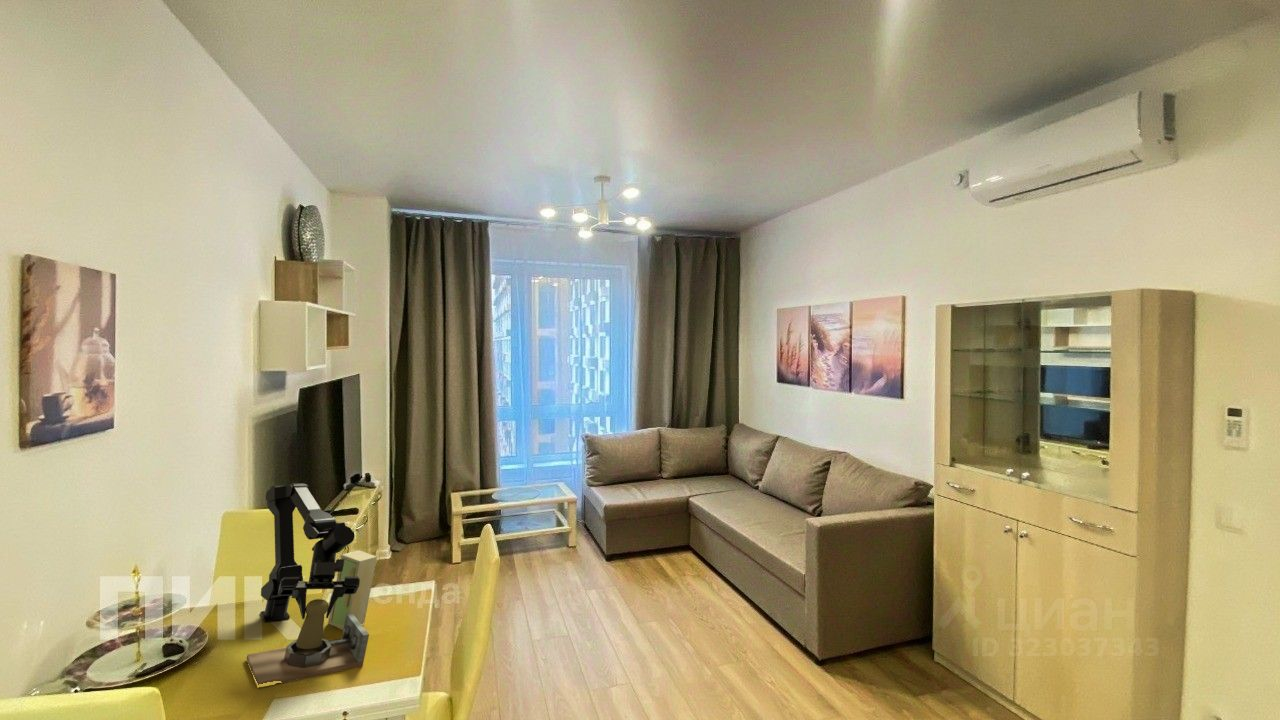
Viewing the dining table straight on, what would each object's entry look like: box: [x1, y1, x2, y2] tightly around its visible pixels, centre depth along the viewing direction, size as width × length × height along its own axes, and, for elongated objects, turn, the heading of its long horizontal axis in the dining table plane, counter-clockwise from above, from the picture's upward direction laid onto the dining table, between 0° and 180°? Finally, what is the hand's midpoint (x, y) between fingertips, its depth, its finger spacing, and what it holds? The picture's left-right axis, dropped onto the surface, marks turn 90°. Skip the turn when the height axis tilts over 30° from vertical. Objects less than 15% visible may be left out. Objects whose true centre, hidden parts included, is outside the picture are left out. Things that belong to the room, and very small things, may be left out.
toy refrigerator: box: [327, 549, 378, 631], centre depth 170 cm, size 8×7×21 cm
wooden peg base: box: [245, 613, 370, 685], centre depth 146 cm, size 14×24×8 cm, turn 134°
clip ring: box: [284, 626, 358, 668], centre depth 148 cm, size 10×16×5 cm, turn 134°
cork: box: [296, 598, 329, 649], centre depth 147 cm, size 6×6×11 cm
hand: (315, 618), depth 146 cm, fingers closed on cork, 5 cm apart
